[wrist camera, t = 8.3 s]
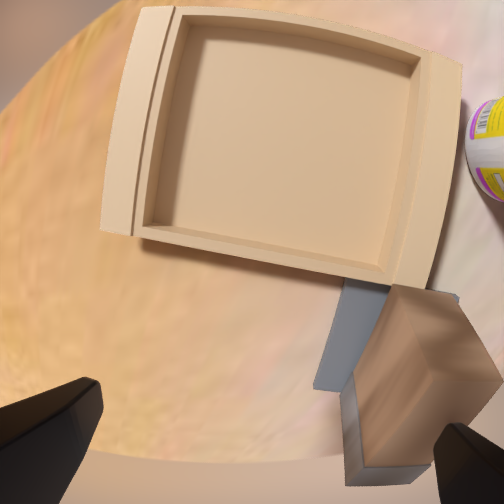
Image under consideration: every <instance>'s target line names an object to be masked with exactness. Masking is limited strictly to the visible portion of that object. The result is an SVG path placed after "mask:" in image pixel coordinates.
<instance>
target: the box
mask: <svg viewBox="0 0 504 504" xmlns="http://www.w3.org/2000/svg"><path fill="white" fill-rule="evenodd" d="M503 382H504V381H503V379H502V377H501V375H500V373H499V371H498V369H497V368H496V366H495V364H494V362H493V360H492V359H491V357H490V355H489V353H488V352H487V350H486V348H485V346H484V345H483V343H482V341H481V340H480V338H479V336H478V335H477V333H476V331H475V330H474V328H473V326H472V325H471V323H470V322H469V320H468V319H467V317H466V315H465V314H464V312H463V311H462V309H461V308H460V306H459V305H458V303H457V302H456V300H455V299H454V297H453V296H452V294H447V293H442V292H436V291H431V290H425V289H420V288H415V287H409V286H404V285H399V284H393V283H392V286H391V288H390V291H389V294H388V296H387V298H386V301H385V303H384V306H383V308H382V310H381V313H380V315H379V318H378V320H377V322H376V324H375V327H374V329H373V331H372V333H371V336H370V338H369V340H368V342H367V344H366V346H365V349H364V351H363V353H362V355H361V357H360V359H359V361H358V363H357V365H356V367H355V369H354V371H353V372H351V374H350V376H349V378H348V380H347V382H346V384H345V386H344V388H343V390H342V392H341V393H340V405H341V417H342V431H343V447H344V466H345V486H386V485H401V484H410V483H412V482H413V481H414V480H415V479H416V478H417V477H419V476H420V475H421V474H422V473H423V472H424V471H426V470H427V469H428V468H429V467H430V466H431V462H432V461H433V460H434V455H433V447H434V444H435V442H436V440H437V439H438V437H439V436H440V434H441V432H442V431H443V429H444V427H445V426H446V425H447V424H448V423H454V422H461V423H463V424H465V425H466V426H468V425H469V424H470V423H471V421H472V420H473V419H474V418H475V417H476V416H477V415H478V413H479V412H480V411H481V410H482V409H483V407H484V406H485V405H486V404H487V403H488V401H489V400H490V399H491V398H492V396H493V395H494V394H495V392H496V391H497V390H498V389H499V387H500V386H501V385H502V383H503Z"/></svg>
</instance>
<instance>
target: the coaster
mask: <svg viewBox="0 0 504 504" xmlns="http://www.w3.org/2000/svg"><path fill="white" fill-rule="evenodd" d="M390 288H391V286H390V285H385V284H380V283H374V282H369V281H364V280H358V279H353V278H348V277H345V281H344V284H343V288H342V292H341V295H340V299H339V303H338V306H337V310H336V313H335V317H334V320H333V323H332V327H331V330H330V333H329V337H328V340H327V343H326V346H325V349H324V353H323V356H322V359H321V362H320V365H319V368H318V371H317V374H316V377H315V380H314V383H313V388H314V389H316V390H324V391H332V392H342V390H343V388H344V386H345V384H346V382H347V380H348V378H349V376H350V374H351V372H353V371H354V369H355V367H356V365H357V363H358V361H359V359H360V357H361V355H362V353H363V351H364V349H365V346H366V344H367V342H368V340H369V338H370V336H371V333H372V331H373V329H374V327H375V324H376V322H377V320H378V318H379V315H380V313H381V310H382V308H383V306H384V303H385V301H386V298H387V296H388V294H389V291H390ZM425 290H430V289H425ZM431 291H435V290H431ZM436 292H440V291H436ZM442 293H446V292H442ZM447 294H451V293H447ZM452 296H453V297H454V299H455V300H456V302H457V303H458V300H459V298H460V297H458V296H457V295H456V294H452Z"/></svg>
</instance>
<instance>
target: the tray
mask: <svg viewBox="0 0 504 504" xmlns="http://www.w3.org/2000/svg"><path fill="white" fill-rule="evenodd" d="M461 88H462V64H461V63H458V62H456V61H454V60H452V59H449V58H447V57H445V56H443V55H440V54H438V53H435V52H433V51H432V52H430V51H427V50H425V49H422V48H420V47H417V46H414V45H411V44H409V43H406V42H403V41H400V40H397V39H394V38H391V37H388V36H385V35H381V34H378V33H375V32H371V31H368V30H364V29H361V28H357V27H353V26H349V25H345V24H341V23H336V22H332V21H327V20H322V19H317V18H312V17H307V16H301V15H295V14H288V13H281V12H274V11H265V10H256V9H245V8H230V7H200V6H187V7H175V6H156V7H142V9H141V12H140V15H139V18H138V21H137V24H136V28H135V31H134V34H133V38H132V41H131V45H130V48H129V52H128V56H127V60H126V64H125V68H124V72H123V76H122V80H121V84H120V89H119V93H118V98H117V103H116V108H115V113H114V118H113V124H112V130H111V136H110V142H109V148H108V155H107V162H106V170H105V178H104V187H103V196H102V207H101V219H100V230H102V231H107V232H112V233H117V234H122V235H127V236H136V237H141V238H146V239H151V240H156V241H161V242H166V243H171V244H176V245H181V246H186V247H191V248H196V249H202V250H207V251H212V252H217V253H222V254H227V255H232V256H238V257H243V258H248V259H253V260H258V261H263V262H269V263H274V264H279V265H284V266H289V267H295V268H300V269H305V270H310V271H316V272H321V273H326V274H332V275H337V276H342V277H348V278H353V279H358V280H364V281H369V282H374V283H380V284H385V285H390V286H392V283H393V284H399V285H404V286H409V287H415V288H420V289H425V286H426V283H427V280H428V277H429V273H430V270H431V267H432V263H433V259H434V256H435V252H436V248H437V244H438V241H439V237H440V232H441V228H442V224H443V220H444V215H445V210H446V206H447V201H448V196H449V190H450V185H451V179H452V173H453V167H454V160H455V153H456V146H457V137H458V128H459V118H460V105H461Z"/></svg>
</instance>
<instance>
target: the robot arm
mask: <svg viewBox="0 0 504 504" xmlns="http://www.w3.org/2000/svg"><path fill="white" fill-rule="evenodd" d="M103 408H104V405H103V398H102V391H101V385H100V383H99V382H98V381H97V380H94V379H91V378H88V377H82V378H79V379H77V380H74V381H72V382H69V383H66V384H64V385H61V386H59V387H56V388H53V389H51V390H48V391H45V392H43V393H40V394H37V395H35V396H32V397H29V398H26V399H24V400H21V401H18V402H15V403H12V404H10V405H7V406H4V407H1V408H0V504H59V502H60V500H61V499H62V497H63V495H64V493H65V491H66V489H67V488H68V486H69V484H70V482H71V480H72V478H73V477H74V475H75V473H76V471H77V470H78V467H79V466H80V464H81V462H82V460H83V458H84V456H85V454H86V452H87V449H88V447H89V444H90V442H91V439H92V437H93V434H94V432H95V430H96V427H97V425H98V422H99V420H100V418H101V415H102V413H103ZM433 455H434V461H435V468H436V475H437V483H438V490H439V497H440V502H441V504H504V450H503V449H502V448H500V447H499V446H497V445H496V444H494V443H492V442H491V441H489V440H487V439H486V438H485V437H483V436H481V435H480V434H478V433H477V432H475V431H474V430H472V429H471V428H469V427H468V426H466V425H465V424H463V423H461V422H454V423H448V424H447V425H446V426H445V427H444V429H443V431H442V432H441V434H440V436H439V437H438V439H437V440H436V442H435V444H434V447H433Z"/></svg>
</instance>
